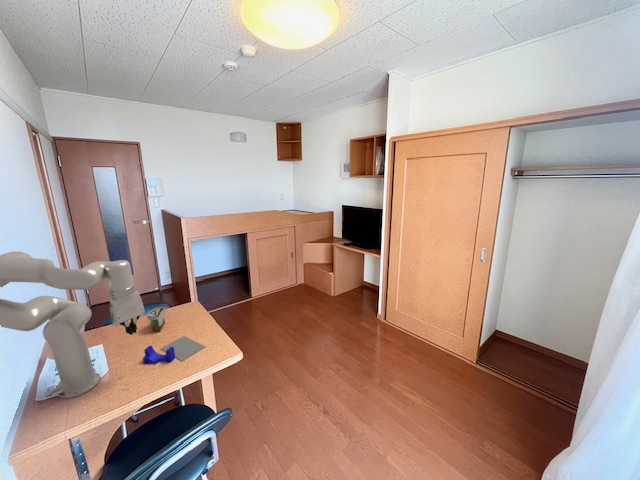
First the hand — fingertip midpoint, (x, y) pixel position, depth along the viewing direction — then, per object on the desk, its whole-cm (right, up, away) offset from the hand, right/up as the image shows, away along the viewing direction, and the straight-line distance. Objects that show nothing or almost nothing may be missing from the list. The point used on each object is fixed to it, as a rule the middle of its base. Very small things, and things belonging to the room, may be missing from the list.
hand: (132, 332), depth 106 cm
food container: (-14, -11, +38) cm, 42 cm away
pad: (+10, -15, +20) cm, 27 cm away
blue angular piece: (+4, -17, +12) cm, 21 cm away
